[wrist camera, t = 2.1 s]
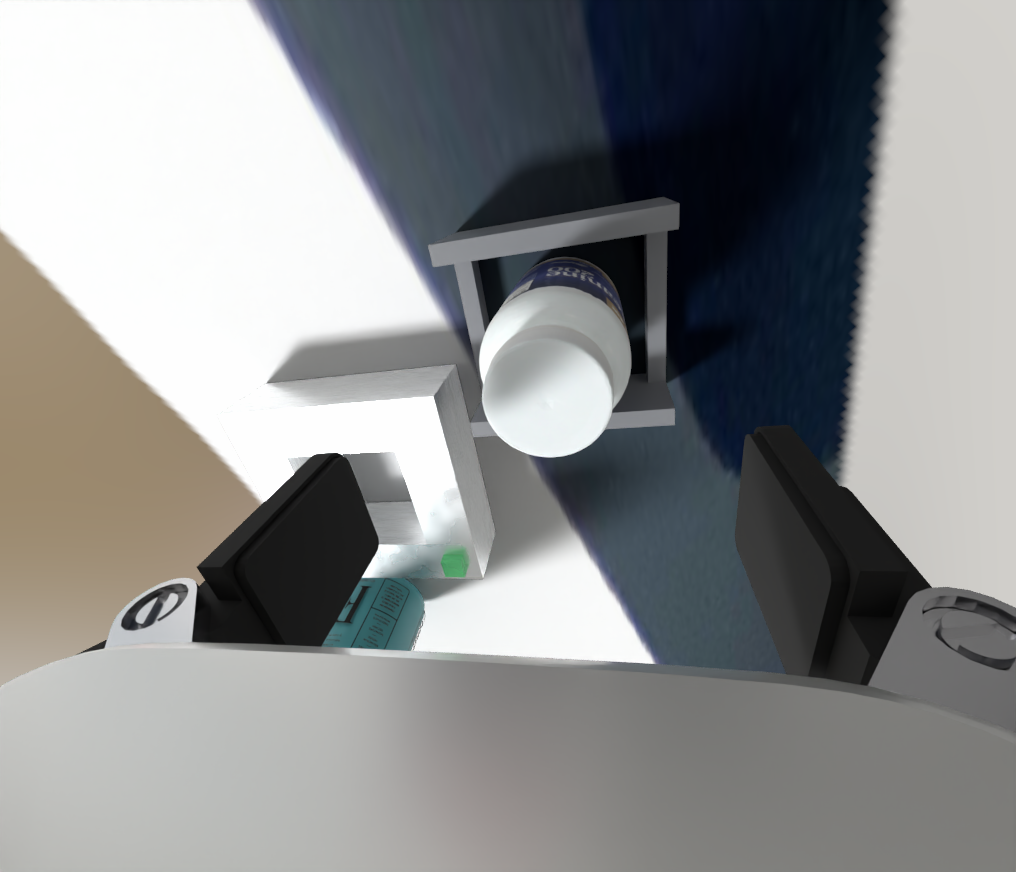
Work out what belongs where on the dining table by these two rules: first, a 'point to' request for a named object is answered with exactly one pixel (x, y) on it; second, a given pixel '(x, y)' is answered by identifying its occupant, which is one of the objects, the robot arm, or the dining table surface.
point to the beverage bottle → (379, 616)
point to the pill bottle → (555, 359)
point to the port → (378, 428)
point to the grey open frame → (651, 218)
